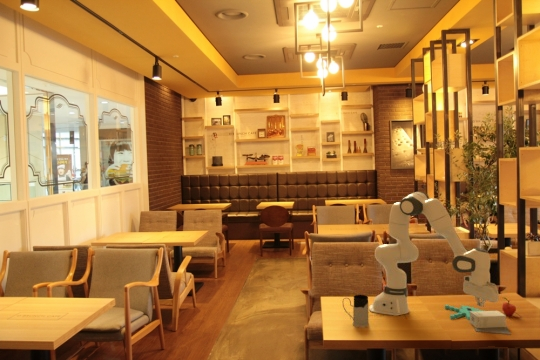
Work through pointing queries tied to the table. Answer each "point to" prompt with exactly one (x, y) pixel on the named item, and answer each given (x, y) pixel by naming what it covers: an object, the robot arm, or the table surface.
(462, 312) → the alien figure
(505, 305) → the apple
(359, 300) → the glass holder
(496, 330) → the mat
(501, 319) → the skincare box
